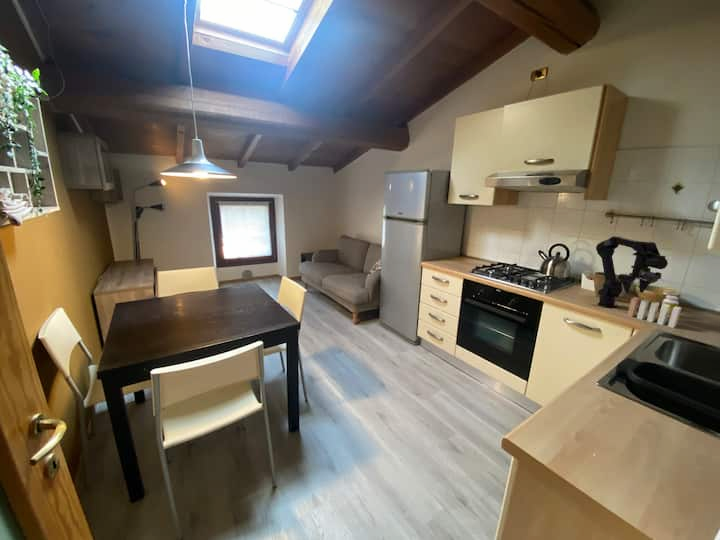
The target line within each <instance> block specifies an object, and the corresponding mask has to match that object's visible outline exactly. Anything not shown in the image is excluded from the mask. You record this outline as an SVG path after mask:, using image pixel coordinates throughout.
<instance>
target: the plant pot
mask: <svg viewBox="0 0 720 540" xmlns="http://www.w3.org/2000/svg"><path fill="white" fill-rule="evenodd" d="M615 275H616V280H617V281H618V282H621V281H620V280H619V279H618V275H619V274H616V273H615ZM604 282H605V275H604V271H595V272H593V285H594V286H593V287H594V294H595V297H596V298H597V297H599V298H598V299H600V296H601V295H598V291H599V290H601V289H602V288H603V284H604ZM621 283H622V282H621Z"/></svg>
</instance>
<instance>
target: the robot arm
mask: <svg viewBox="0 0 720 540" xmlns="http://www.w3.org/2000/svg"><path fill="white" fill-rule="evenodd" d="M619 246H624V247H627V248H631V249H632V250H633V251H634V253H632V256H635V260H634V263H633V265H630V266H631V267H630V268H631V269H632V270H631V272H629V274H627V273H620V274H617V275H618V279H619V280H620V281H621V282H622V283H621V282H618V281H617V280H616V275H615V274H616V269H615V265H614V259H613V256H614V254H615V249H617V248H618V247H619ZM595 250H596V254H597V255H598V256H599V257H600V258H601V262H602V263H601V264H602V269H603V272H604V275H605V282H604V284H603V288H602V289H601V290H599V291H598V295H601V296H600V298H599V300H598V303H597V305H598V304H599V305H598V306H601V305H602V307H605V308H609V309H610V308H613V307H615V305H616V301H617V300H616V298H619V296H620V295H621V294H622V293H623V290H624V292H625V293H626V294H628V293H629V292H630V289H631V286H632V284H635V281H636V280H638V281H639V293H640V294H643V293H644V292H645V291H646V289H647V288H648V287H649V286H650V285H652V284H653V283H656V282H658V281H659V280H661V278H662V273H661V272H657V271H656V272H653V271H652V270H651V268H653V269H657V270H664V269H666V268H667V266H668V264H669V262H668V259H666V255H661V254H660V252H659V249H658V247H657V245H656V242H655V241H639V240H634V239H629V238H625V237H622V236H611V237H609V238H608V239H605V240H603V241H600V242H599V243H598V244H596V247H595Z"/></svg>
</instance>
